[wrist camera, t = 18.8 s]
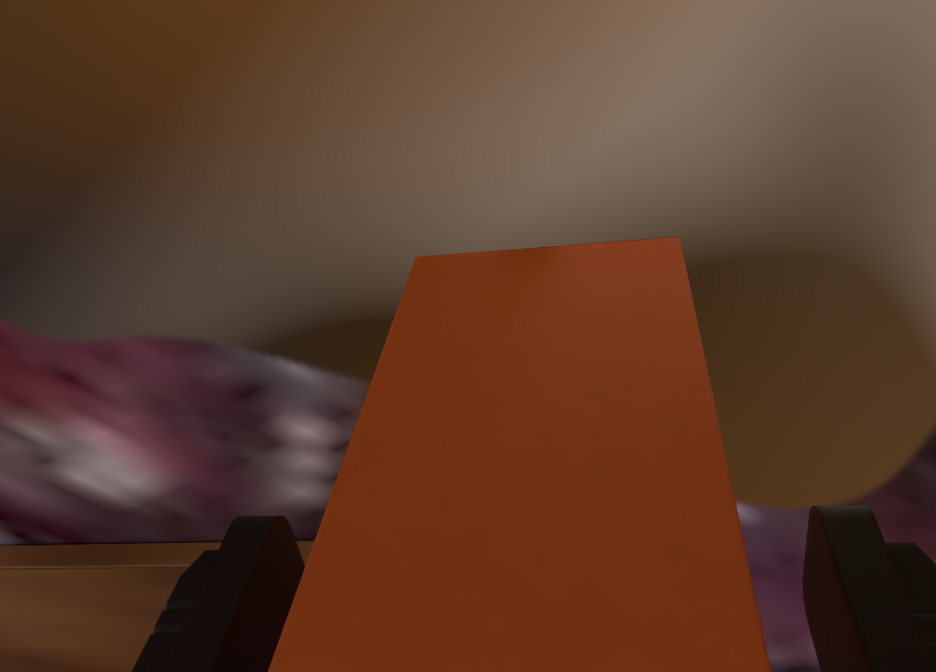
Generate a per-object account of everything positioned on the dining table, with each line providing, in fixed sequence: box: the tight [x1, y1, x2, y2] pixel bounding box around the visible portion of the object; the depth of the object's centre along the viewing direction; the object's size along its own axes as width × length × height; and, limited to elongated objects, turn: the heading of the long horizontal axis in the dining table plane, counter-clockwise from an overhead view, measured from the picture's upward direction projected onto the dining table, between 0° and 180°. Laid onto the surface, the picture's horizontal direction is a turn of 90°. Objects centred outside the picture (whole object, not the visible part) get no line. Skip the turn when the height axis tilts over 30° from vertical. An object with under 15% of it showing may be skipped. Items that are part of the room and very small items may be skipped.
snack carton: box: [268, 237, 771, 672], centre depth 12 cm, size 5×3×13 cm, turn 99°
